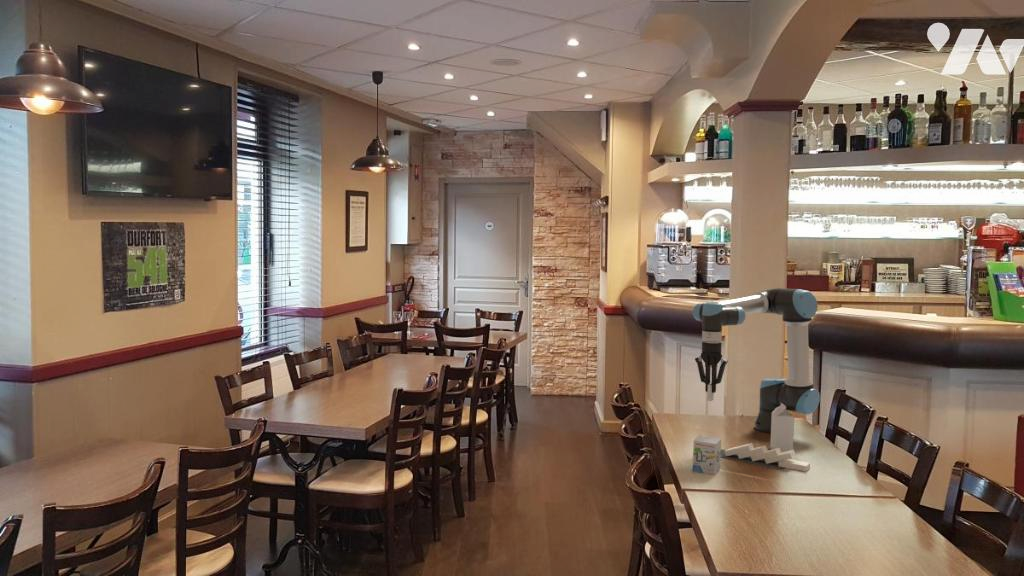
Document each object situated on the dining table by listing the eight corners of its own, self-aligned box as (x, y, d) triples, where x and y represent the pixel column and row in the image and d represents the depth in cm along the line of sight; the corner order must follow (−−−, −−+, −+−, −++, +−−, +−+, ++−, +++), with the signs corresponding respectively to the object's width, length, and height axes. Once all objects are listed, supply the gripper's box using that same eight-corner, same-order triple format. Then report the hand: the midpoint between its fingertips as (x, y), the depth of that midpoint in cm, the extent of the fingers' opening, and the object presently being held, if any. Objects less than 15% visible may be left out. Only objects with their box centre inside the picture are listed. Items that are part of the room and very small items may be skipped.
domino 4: (782, 457, 276) (809, 462, 270) (782, 463, 276) (809, 468, 270) (778, 461, 272) (806, 466, 266) (778, 466, 272) (806, 471, 266)
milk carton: (787, 448, 297) (789, 403, 296) (792, 453, 290) (795, 406, 289) (770, 448, 298) (772, 402, 296) (774, 452, 291) (776, 406, 289)
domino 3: (768, 455, 279) (793, 449, 273) (770, 460, 278) (795, 454, 273) (764, 458, 275) (789, 452, 269) (766, 463, 274) (791, 458, 269)
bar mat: (720, 450, 293) (720, 449, 293) (792, 463, 277) (792, 462, 277) (709, 456, 283) (709, 455, 283) (783, 471, 267) (783, 470, 267)
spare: (728, 448, 288) (752, 442, 282) (730, 453, 287) (754, 447, 282) (724, 451, 284) (748, 445, 278) (726, 456, 283) (750, 450, 278)
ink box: (691, 471, 265) (692, 440, 264) (697, 465, 272) (698, 434, 272) (715, 475, 261) (716, 443, 260) (720, 469, 268) (721, 438, 268)
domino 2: (754, 453, 282) (779, 447, 276) (756, 458, 281) (781, 452, 276) (750, 456, 277) (775, 450, 272) (752, 461, 277) (777, 455, 272)
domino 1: (741, 450, 285) (765, 445, 279) (743, 455, 284) (767, 450, 279) (737, 453, 281) (761, 448, 275) (739, 458, 280) (763, 453, 275)
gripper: (692, 341, 288) (691, 399, 290) (724, 344, 280) (723, 404, 282) (699, 339, 294) (698, 396, 296) (731, 342, 286) (729, 400, 288)
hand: (710, 400), depth 289 cm, fingers closed
